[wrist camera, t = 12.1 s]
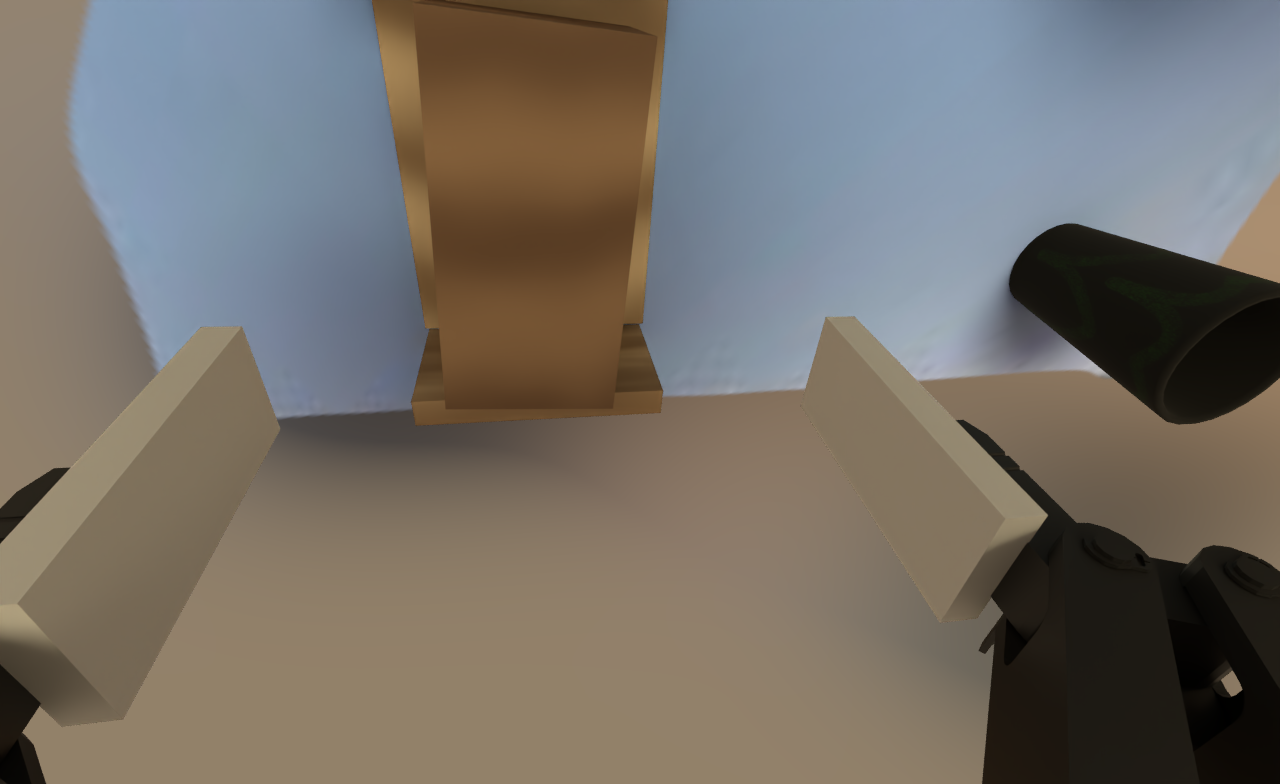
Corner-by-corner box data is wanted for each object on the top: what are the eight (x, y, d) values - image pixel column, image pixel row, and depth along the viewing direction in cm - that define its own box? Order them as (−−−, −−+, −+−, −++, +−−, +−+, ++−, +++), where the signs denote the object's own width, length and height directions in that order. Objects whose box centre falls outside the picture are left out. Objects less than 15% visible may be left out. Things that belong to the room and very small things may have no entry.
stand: (360, -105, 22) (306, -135, 16) (668, -72, 24) (715, -90, 18) (432, 350, 33) (415, 425, 27) (637, 344, 35) (660, 412, 30)
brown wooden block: (598, 345, 30) (613, 408, 25) (456, 342, 28) (445, 409, 24) (628, 26, 22) (657, 36, 17) (435, -1, 20) (412, 2, 16)
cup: (983, 328, 39) (1134, 440, 30) (1008, 221, 35) (1195, 311, 25) (1087, 303, 40) (1270, 406, 30) (1125, 194, 35) (1355, 273, 26)
